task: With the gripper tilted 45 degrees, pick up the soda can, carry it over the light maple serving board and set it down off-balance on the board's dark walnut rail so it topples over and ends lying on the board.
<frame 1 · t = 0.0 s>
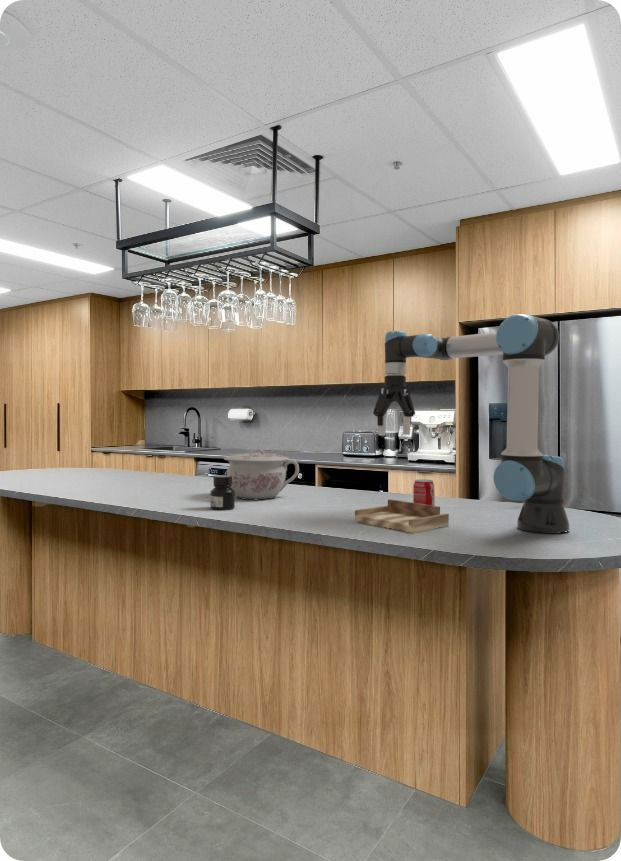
hand: (394, 435, 213), 28 cm above the countertop, tool pointing down, fingers open, 13 cm apart
soda can: (423, 518, 204), on the countertop
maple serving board: (400, 523, 193), on the countertop
chamber pot: (257, 498, 250), on the countertop
ink bottle: (222, 509, 220), on the countertop
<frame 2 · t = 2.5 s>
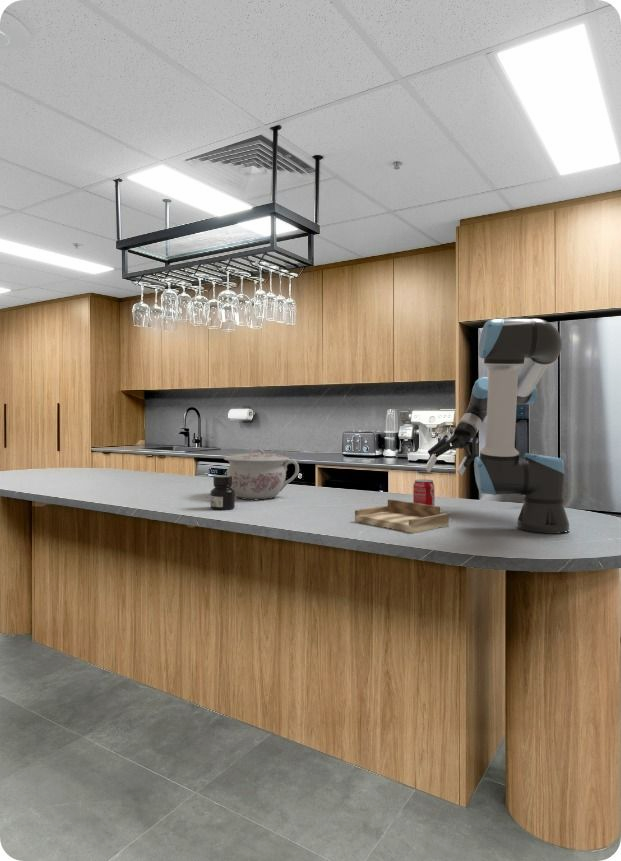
hand: (442, 471, 210), 15 cm above the countertop, tool tilted 45°, fingers open, 13 cm apart
nothing on the countertop moved.
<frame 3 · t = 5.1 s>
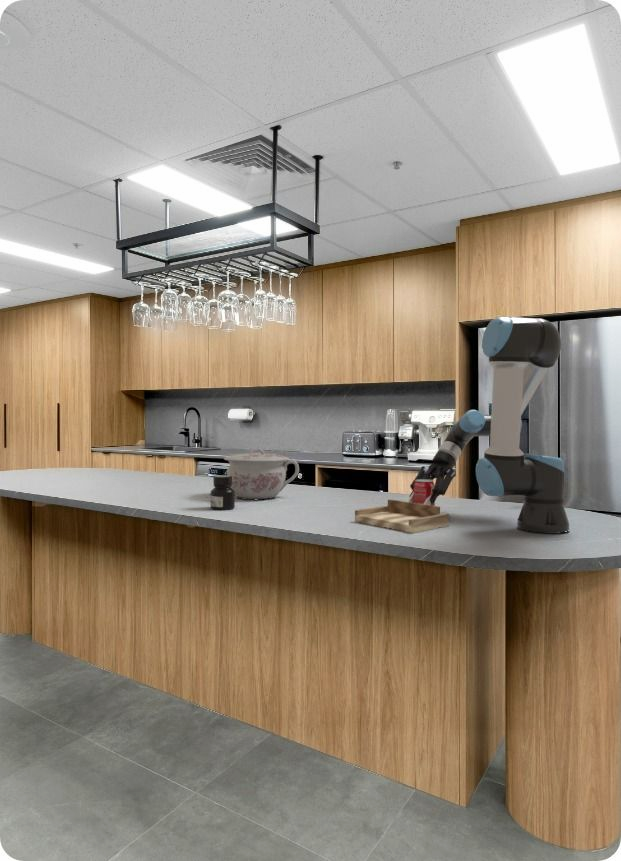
hand: (416, 507, 201), 4 cm above the countertop, tool tilted 45°, fingers closed on soda can, 6 cm apart
soda can: (423, 518, 204), on the countertop, touching gripper
everything else where it was.
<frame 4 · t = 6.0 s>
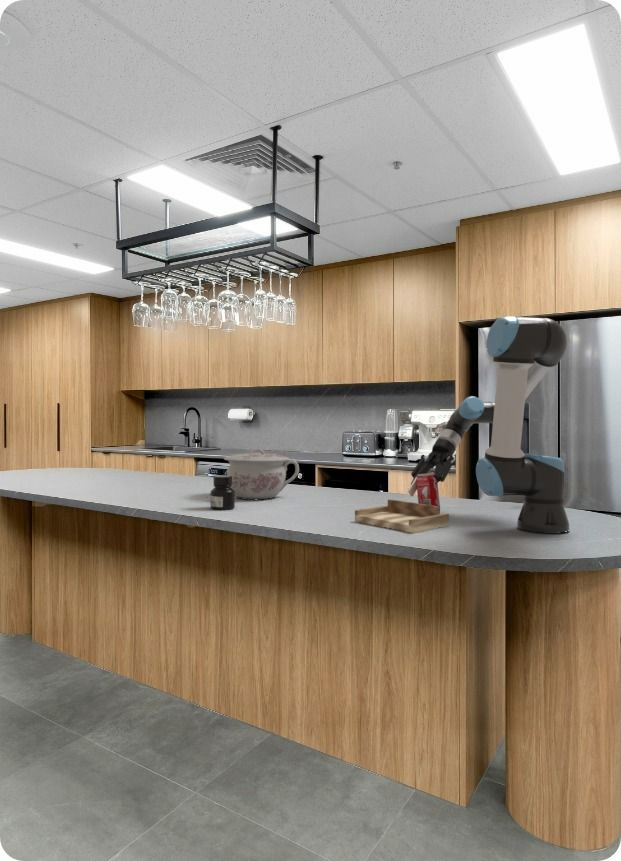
hand: (417, 494, 201), 8 cm above the countertop, tool tilted 45°
soda can: (429, 512, 203), point 2 cm above the countertop, touching gripper
everything else where it was.
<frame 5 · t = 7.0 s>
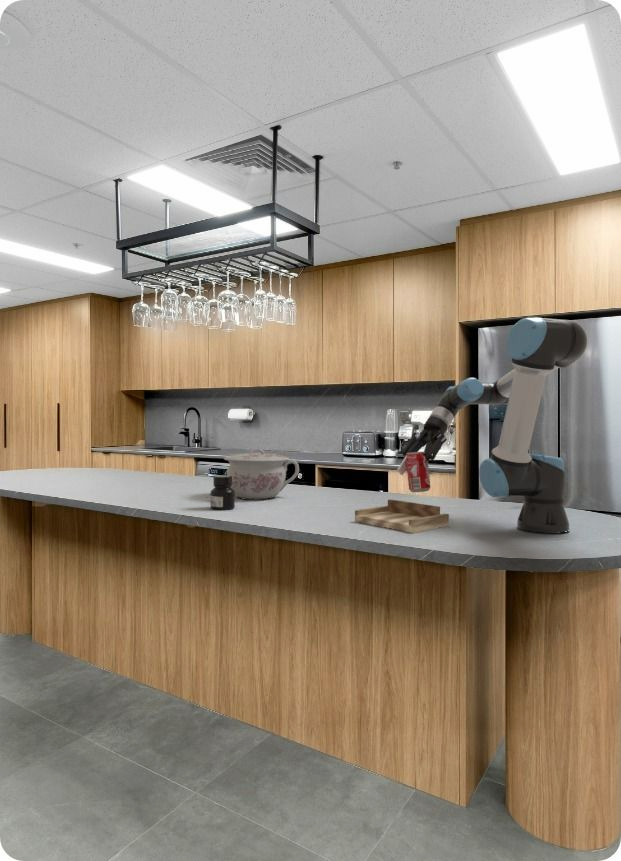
hand: (406, 472, 197), 16 cm above the countertop, tool tilted 45°
soda can: (419, 491, 199), point 10 cm above the countertop, touching gripper
everything else where it was.
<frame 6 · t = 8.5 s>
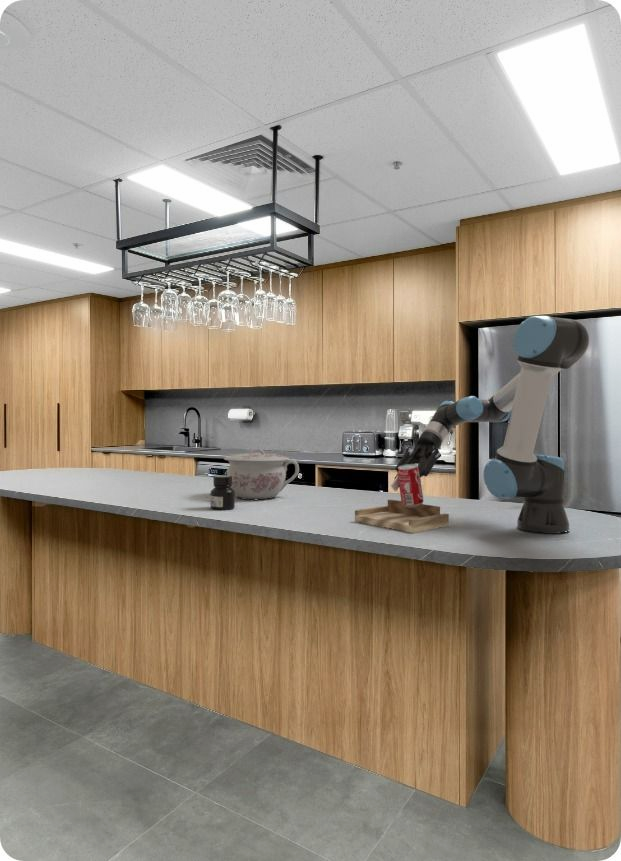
hand: (400, 489, 191), 11 cm above the countertop, tool tilted 45°, fingers closed on soda can, 5 cm apart
soda can: (412, 505, 194), point 6 cm above the countertop, touching gripper, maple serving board
everything else where it was.
when the fingers open (11 cm above the countertop, at t = 8.5 s): soda can moves 4 cm, resting on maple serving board.
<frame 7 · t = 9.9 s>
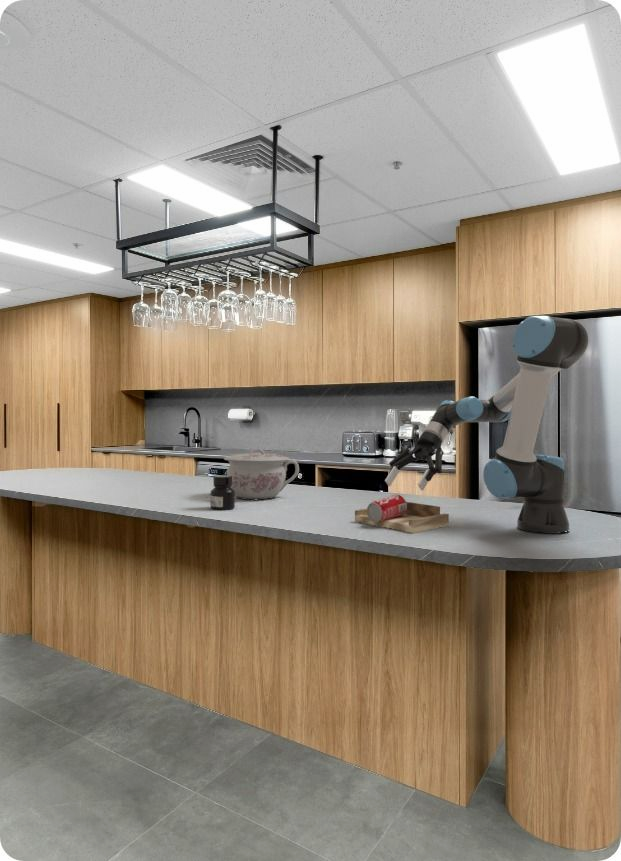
hand: (403, 485, 193), 12 cm above the countertop, tool tilted 45°, fingers open, 13 cm apart
soda can: (400, 504, 196), point 6 cm above the countertop, touching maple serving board
everything else where it was.
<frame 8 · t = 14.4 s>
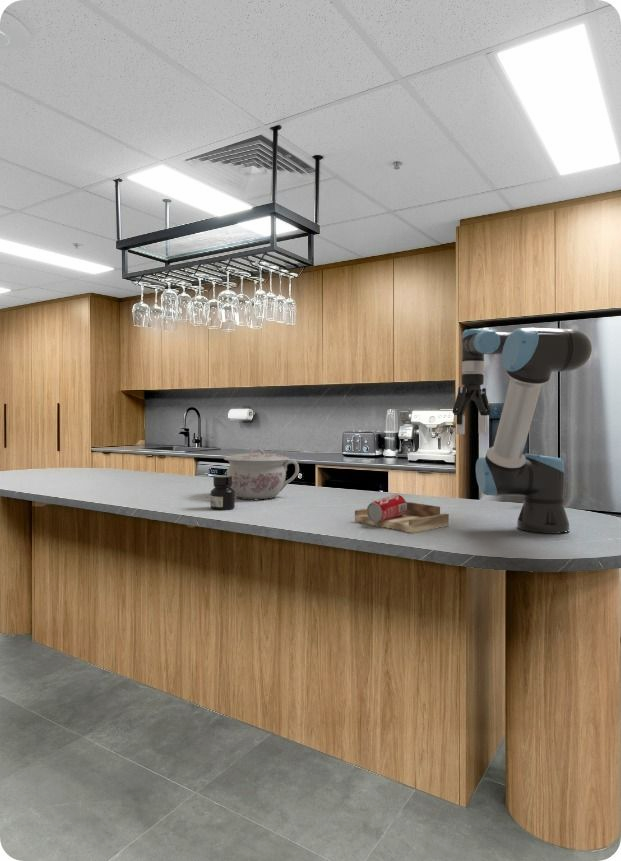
hand: (471, 433, 211), 29 cm above the countertop, tool pointing down, fingers open, 13 cm apart
nothing on the countertop moved.
at the end: soda can tilted 95°; soda can inside the target area (4.8 cm from its centre), point 5.7 cm above the countertop; the gripper is holding nothing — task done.
